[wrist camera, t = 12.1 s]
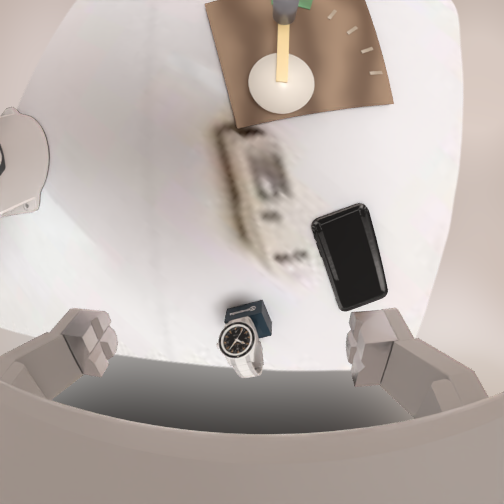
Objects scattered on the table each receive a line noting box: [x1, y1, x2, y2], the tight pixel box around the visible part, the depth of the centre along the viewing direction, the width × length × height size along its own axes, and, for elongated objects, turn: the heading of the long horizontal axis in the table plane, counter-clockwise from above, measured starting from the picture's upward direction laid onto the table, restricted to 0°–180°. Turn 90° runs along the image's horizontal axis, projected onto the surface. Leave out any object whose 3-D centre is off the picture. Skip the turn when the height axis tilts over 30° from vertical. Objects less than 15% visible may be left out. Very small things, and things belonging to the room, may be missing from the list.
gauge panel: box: [205, 0, 394, 129], centre depth 28 cm, size 19×17×2 cm
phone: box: [312, 203, 388, 311], centre depth 40 cm, size 8×1×15 cm
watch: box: [217, 300, 272, 378], centre depth 39 cm, size 6×8×11 cm
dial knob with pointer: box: [248, 0, 314, 114], centre depth 24 cm, size 14×7×8 cm, turn 178°
